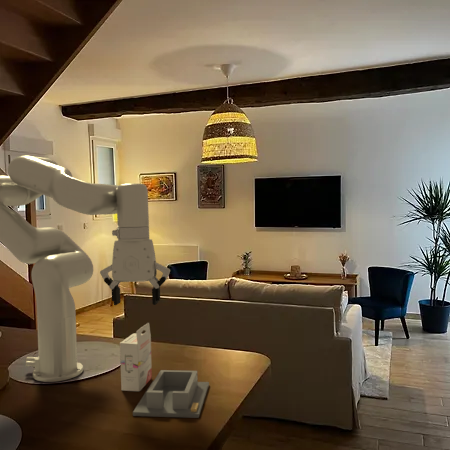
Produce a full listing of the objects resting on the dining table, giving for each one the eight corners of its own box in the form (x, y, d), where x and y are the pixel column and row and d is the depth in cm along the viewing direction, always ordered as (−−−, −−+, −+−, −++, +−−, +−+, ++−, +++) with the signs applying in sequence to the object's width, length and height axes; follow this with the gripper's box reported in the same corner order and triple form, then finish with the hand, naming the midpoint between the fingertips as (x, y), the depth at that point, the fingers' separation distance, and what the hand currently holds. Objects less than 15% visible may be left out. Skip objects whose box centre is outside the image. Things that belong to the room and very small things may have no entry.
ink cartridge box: (134, 377, 117) (132, 321, 116) (152, 378, 116) (151, 321, 115) (119, 390, 108) (118, 330, 108) (139, 392, 107) (138, 331, 107)
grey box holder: (132, 415, 95) (132, 395, 95) (153, 383, 112) (152, 366, 112) (198, 417, 94) (198, 397, 94) (208, 385, 111) (208, 368, 111)
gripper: (93, 236, 107) (96, 307, 108) (165, 234, 106) (167, 307, 107) (104, 234, 115) (107, 301, 116) (171, 232, 113) (174, 300, 114)
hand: (136, 303), depth 111 cm, fingers open, 9 cm apart
